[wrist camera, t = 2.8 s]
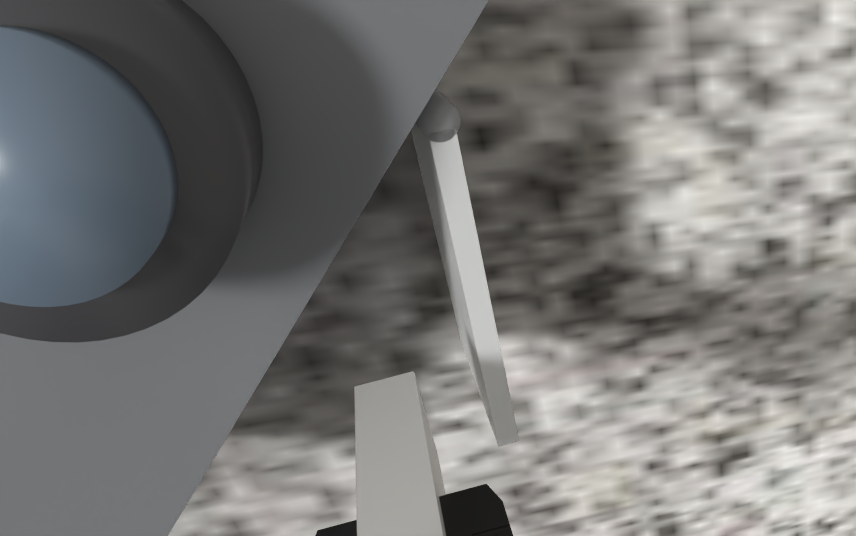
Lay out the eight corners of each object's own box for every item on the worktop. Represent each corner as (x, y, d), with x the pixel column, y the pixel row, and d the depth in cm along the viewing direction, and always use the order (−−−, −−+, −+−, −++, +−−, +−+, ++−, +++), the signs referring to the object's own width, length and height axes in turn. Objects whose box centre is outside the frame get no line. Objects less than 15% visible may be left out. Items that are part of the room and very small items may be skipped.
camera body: (189, 440, 22) (88, 737, 13) (-116, 332, 19) (-528, 631, 10) (441, 2, 17) (554, 1, 8) (85, -250, 14) (-389, -721, 5)
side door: (481, 337, 21) (524, 439, 16) (457, 343, 21) (493, 447, 16) (422, 68, 17) (456, 95, 12) (392, 76, 17) (415, 105, 12)
